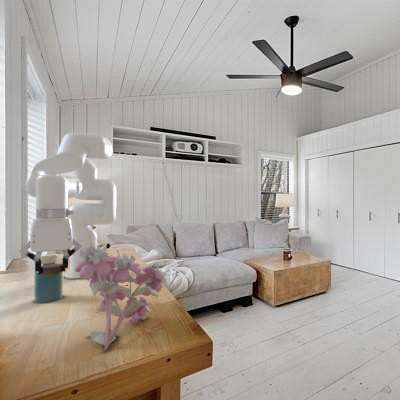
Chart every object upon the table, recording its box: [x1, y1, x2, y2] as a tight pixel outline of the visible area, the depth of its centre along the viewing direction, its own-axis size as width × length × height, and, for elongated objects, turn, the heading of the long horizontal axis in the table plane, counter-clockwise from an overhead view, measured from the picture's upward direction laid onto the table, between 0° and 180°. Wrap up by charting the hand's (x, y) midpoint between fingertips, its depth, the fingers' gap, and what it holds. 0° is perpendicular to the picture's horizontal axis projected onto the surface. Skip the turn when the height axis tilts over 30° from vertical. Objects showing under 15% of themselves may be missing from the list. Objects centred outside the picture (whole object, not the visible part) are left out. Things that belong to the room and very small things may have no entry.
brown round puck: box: [41, 263, 64, 275], centre depth 92 cm, size 5×5×2 cm
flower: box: [75, 243, 168, 351], centre depth 76 cm, size 20×22×25 cm
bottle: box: [33, 252, 64, 304], centre depth 99 cm, size 7×7×15 cm
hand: (52, 271), depth 92 cm, fingers closed on brown round puck, 5 cm apart
